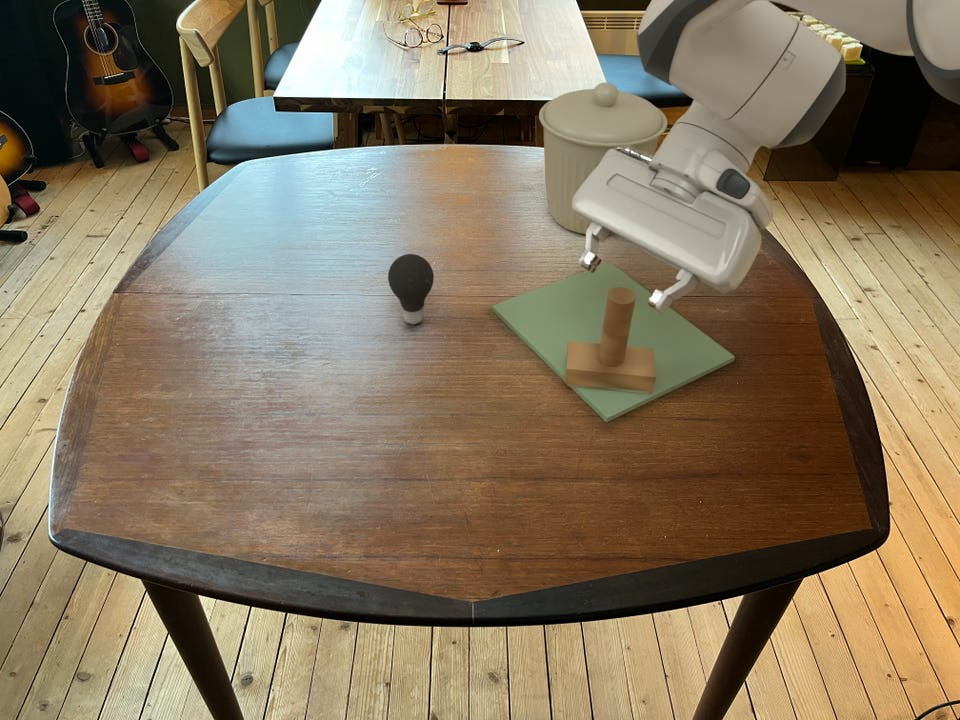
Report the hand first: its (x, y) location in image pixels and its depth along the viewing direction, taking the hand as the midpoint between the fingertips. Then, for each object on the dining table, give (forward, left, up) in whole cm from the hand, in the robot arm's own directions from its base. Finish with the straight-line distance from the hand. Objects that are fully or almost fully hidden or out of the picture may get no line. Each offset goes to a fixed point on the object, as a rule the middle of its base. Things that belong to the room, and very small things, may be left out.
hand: (618, 288), depth 76 cm
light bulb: (+23, +13, -15) cm, 30 cm away
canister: (+32, -23, -15) cm, 42 cm away
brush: (+1, -1, -14) cm, 14 cm away
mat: (+8, -7, -15) cm, 18 cm away
